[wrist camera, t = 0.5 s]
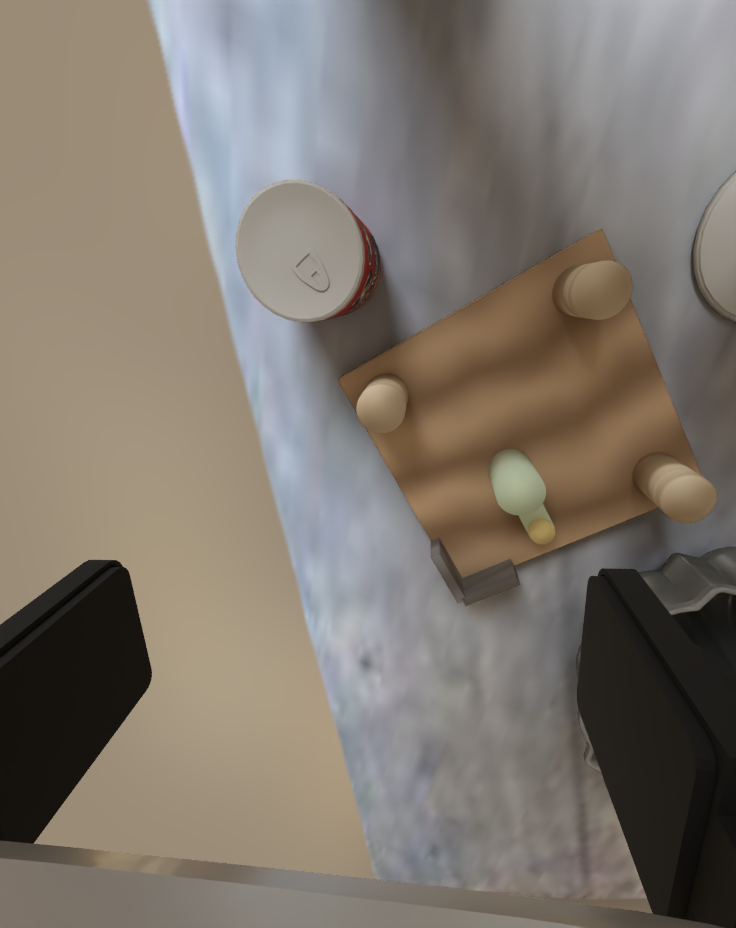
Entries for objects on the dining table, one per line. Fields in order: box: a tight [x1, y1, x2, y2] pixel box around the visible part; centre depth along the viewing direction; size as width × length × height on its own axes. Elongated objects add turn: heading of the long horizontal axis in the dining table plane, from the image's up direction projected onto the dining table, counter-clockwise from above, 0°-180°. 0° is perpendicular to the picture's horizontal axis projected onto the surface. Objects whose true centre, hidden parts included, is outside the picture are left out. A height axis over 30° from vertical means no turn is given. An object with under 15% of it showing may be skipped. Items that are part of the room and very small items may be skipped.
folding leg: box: [488, 449, 555, 544], centre depth 38 cm, size 9×4×6 cm, turn 30°
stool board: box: [338, 229, 717, 606], centre depth 38 cm, size 22×22×8 cm
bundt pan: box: [576, 547, 736, 787], centre depth 41 cm, size 26×26×10 cm
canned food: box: [236, 180, 380, 322], centre depth 34 cm, size 8×8×11 cm
